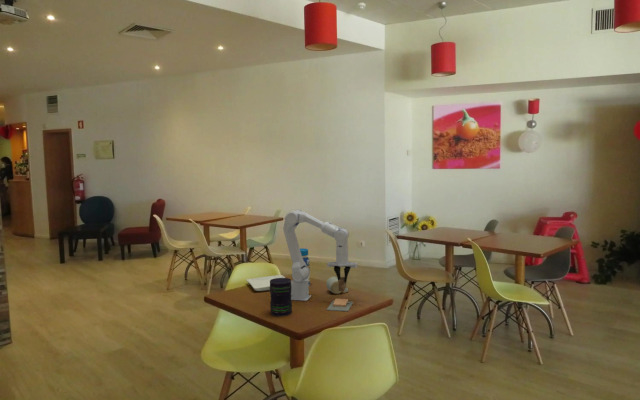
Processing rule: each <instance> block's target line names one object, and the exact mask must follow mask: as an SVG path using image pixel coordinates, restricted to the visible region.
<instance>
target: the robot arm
mask: <svg viewBox="0 0 640 400" xmlns="http://www.w3.org/2000/svg"><path fill="white" fill-rule="evenodd" d="M301 223H302V224H303V223H307V224H309V225H311V226H314V227H316V228H319V229H320V230H321V233H323V234H325V235H327V236H329V237H331V238H333V239H334V240H335V251H336V252H335V257H336V258H335V259H336V260H335V261H328V262H326V267H327V268H332V267H333V271H334V272H335V274H336V277H337V278H338V282H339V279H340V278H341V277H342V276H341V269H342V268H343V272H344V274H343V275H344V277H345V279H344V281H345V282H346V283H347V281H348V275H349V273H350V270H351V269H352V268H355V269H358V262H349V244H348V243H349V242H348V239H349V237H350V232H349V230H348V229H346V228H345V227H342V228H341V226H338V225H335V224H334V223H333V221H325V222H324V221H322V220H320V219H319V218H316V217H315V216H313V215H311V214H309V213H307V212H306V211H303V210H301V209H296V210H295V209H294V210H292V211H289V212H288V213H286V215H285V217H284V223H283V228H282V229H283V234H284V237H285V241H286V243H287V247H288V253H289V255H290V258H291V262H292V265H291V278H292V280H291V286H292V288H291V290H292V291H291V300H292V301H306V302H307V301H308V300H309V299H310V298H311V296H312V295H311V294H310V295H309V290H310V289H309V286H308V276H309V274H310V275H311V271H310V270H311V269H310V270H309V268H308V267H307V266H306V263H305V262H304V261H303V259H302V255H301V252H300V249H301V247H300V245H299V241H298V238H297V234H296V231H295V230H296V228H297V227H298V225H300V224H301Z"/></svg>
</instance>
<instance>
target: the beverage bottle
mask: <svg viewBox="0 0 640 400" xmlns="http://www.w3.org/2000/svg"><path fill="white" fill-rule="evenodd" d="M300 252H301V255H302V259H303V261H304V262H305V263H306V266H307V267H308V268H309V270H311V265H310V262H311V261H310V258H309V257H308V256H309V249H308V248H301V247H300ZM310 285H311V273H310V274H309V276H308V287H309V286H310Z"/></svg>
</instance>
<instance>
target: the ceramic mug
mask: <svg viewBox="0 0 640 400" xmlns="http://www.w3.org/2000/svg"><path fill="white" fill-rule="evenodd" d="M325 283H326V288H327V290H329V291H330V292H331V293H332V294H334V295H339V294H341V293H342V292H345V293H348V292H349V289H348V287H346V288H345V290H344V291H339V282H338V278H337V276H329V278H327V280H326V282H325Z"/></svg>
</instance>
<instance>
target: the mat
mask: <svg viewBox="0 0 640 400" xmlns="http://www.w3.org/2000/svg"><path fill="white" fill-rule="evenodd" d="M334 301H335V299H334V300H332V301H331V303H330V304H329V306H328V307H327V308H326V311H330V312H331V311H332V312H349V311H350V310H351V307H352V306H353V303H354V301H351V300H350V301H349V300H348V302H347V305H346V307H333V303H334Z"/></svg>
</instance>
